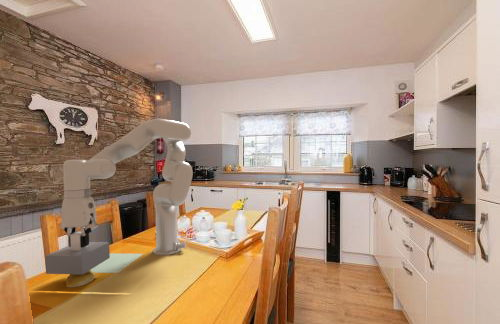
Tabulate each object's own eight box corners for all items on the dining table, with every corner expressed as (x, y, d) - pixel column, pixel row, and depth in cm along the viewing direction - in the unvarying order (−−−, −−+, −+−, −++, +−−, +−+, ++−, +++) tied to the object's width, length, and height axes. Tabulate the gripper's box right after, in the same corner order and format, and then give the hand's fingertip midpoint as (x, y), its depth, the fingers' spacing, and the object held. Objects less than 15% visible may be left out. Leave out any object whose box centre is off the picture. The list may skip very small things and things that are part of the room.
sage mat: (143, 254, 107) (143, 253, 107) (118, 274, 89) (118, 272, 89) (106, 254, 109) (106, 253, 109) (73, 273, 91) (73, 272, 91)
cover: (109, 257, 90) (108, 227, 90) (82, 274, 77) (81, 239, 77) (77, 257, 91) (76, 227, 91) (45, 273, 78) (44, 239, 78)
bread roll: (67, 292, 78) (66, 280, 78) (65, 281, 85) (65, 270, 85) (96, 282, 84) (96, 271, 84) (92, 274, 90) (92, 263, 90)
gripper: (107, 192, 87) (108, 242, 87) (65, 193, 88) (66, 242, 88) (91, 196, 79) (93, 250, 80) (46, 196, 81) (48, 249, 81)
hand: (79, 245), depth 84 cm, fingers closed on cover, 3 cm apart
